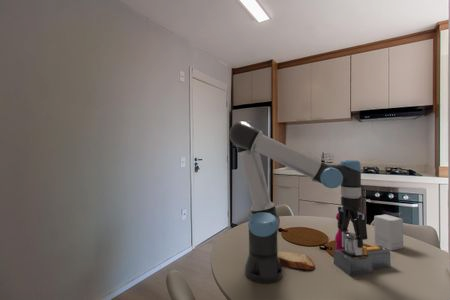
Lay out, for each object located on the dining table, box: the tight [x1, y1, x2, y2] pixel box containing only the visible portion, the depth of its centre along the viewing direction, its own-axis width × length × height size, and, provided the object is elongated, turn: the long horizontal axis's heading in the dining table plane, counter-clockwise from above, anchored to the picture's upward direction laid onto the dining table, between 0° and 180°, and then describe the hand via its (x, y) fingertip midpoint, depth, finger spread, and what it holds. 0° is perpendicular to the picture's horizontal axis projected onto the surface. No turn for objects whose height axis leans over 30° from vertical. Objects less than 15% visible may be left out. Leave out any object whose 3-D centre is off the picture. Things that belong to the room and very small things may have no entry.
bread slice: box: [278, 251, 316, 271], centre depth 101 cm, size 18×18×4 cm
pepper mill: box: [334, 212, 349, 250], centre depth 113 cm, size 7×7×20 cm
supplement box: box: [373, 214, 404, 251], centre depth 115 cm, size 9×9×15 cm
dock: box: [333, 245, 391, 277], centre depth 96 cm, size 22×10×7 cm, turn 100°
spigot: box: [343, 231, 356, 258], centre depth 95 cm, size 5×5×13 cm
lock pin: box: [362, 245, 380, 255], centre depth 96 cm, size 9×5×3 cm, turn 100°
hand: (351, 250), depth 95 cm, fingers open, 7 cm apart
